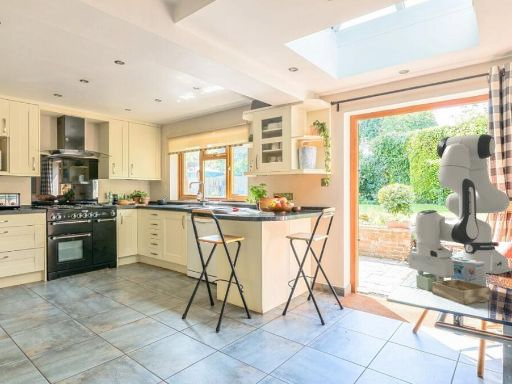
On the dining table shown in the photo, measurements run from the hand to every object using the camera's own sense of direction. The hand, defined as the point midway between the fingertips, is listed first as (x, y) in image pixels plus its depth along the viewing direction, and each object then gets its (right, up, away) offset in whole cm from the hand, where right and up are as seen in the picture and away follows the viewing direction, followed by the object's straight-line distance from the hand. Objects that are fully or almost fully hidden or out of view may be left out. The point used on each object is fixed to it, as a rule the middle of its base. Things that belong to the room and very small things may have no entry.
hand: (430, 283), depth 128 cm
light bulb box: (+15, -2, 0) cm, 16 cm away
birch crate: (+4, -1, -12) cm, 13 cm away
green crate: (0, -2, 0) cm, 2 cm away
